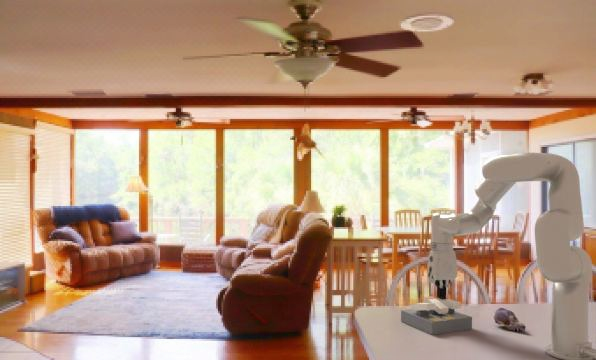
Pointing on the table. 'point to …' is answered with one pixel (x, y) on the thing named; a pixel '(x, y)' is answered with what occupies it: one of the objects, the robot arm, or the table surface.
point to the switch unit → (436, 320)
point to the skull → (508, 319)
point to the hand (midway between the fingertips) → (441, 298)
